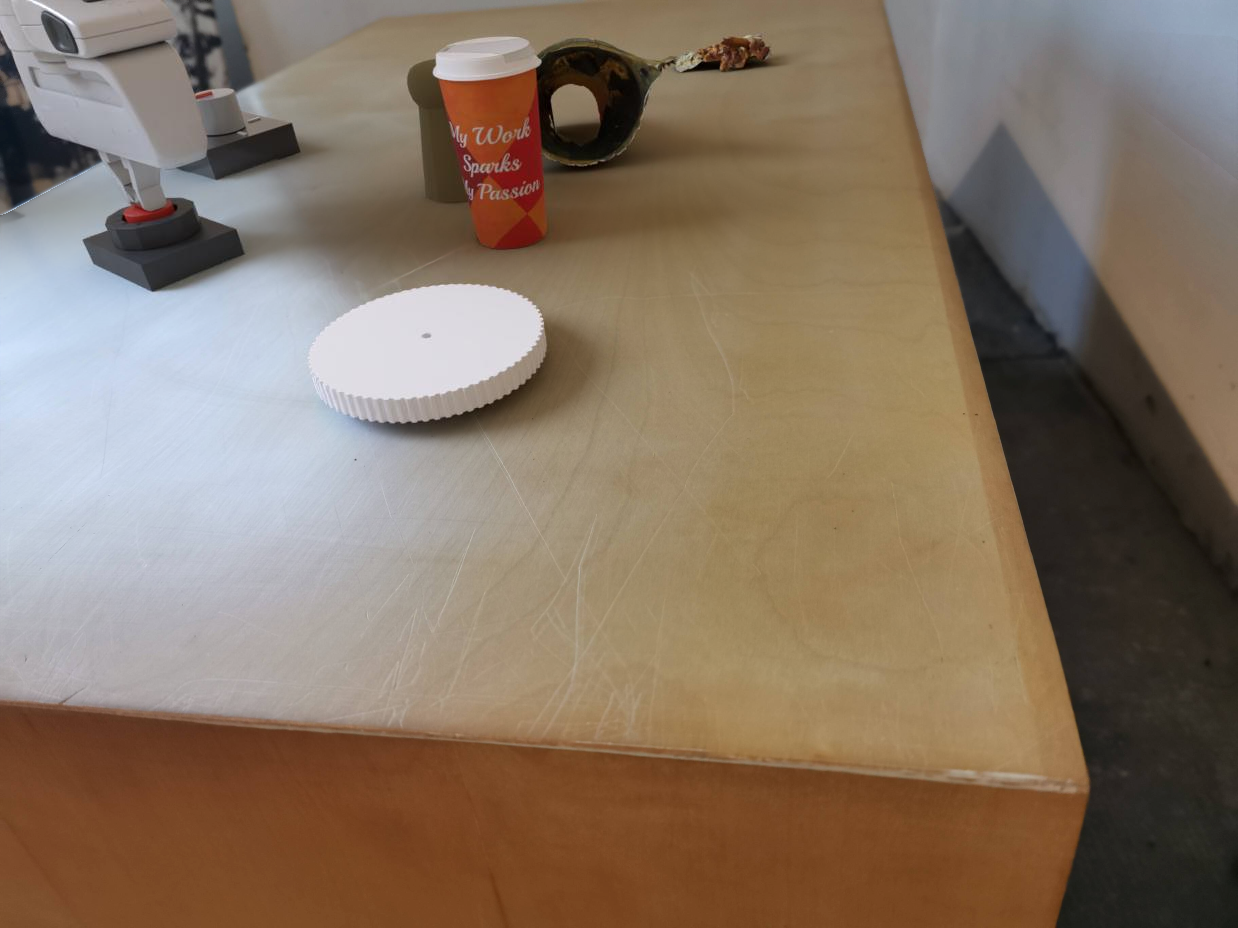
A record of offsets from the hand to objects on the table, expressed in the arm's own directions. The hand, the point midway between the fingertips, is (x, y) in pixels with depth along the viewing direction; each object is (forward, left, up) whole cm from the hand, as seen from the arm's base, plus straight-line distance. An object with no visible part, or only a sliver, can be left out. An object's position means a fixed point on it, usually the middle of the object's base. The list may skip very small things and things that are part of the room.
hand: (149, 206), depth 68 cm
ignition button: (0, 0, -2) cm, 2 cm away
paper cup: (+22, +18, -5) cm, 29 cm away
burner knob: (-20, +18, -1) cm, 27 cm away
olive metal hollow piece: (+14, +37, -5) cm, 40 cm away
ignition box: (0, 0, -5) cm, 5 cm away
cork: (+10, +23, -5) cm, 25 cm away
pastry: (+7, +71, -5) cm, 71 cm away
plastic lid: (+33, 0, -5) cm, 33 cm away
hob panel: (-20, +18, -5) cm, 27 cm away
